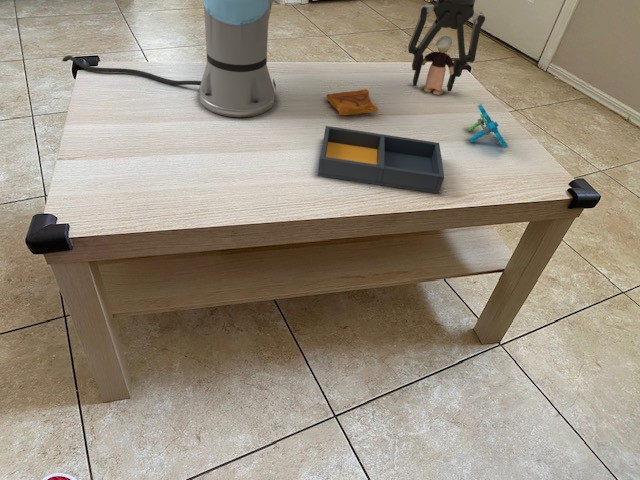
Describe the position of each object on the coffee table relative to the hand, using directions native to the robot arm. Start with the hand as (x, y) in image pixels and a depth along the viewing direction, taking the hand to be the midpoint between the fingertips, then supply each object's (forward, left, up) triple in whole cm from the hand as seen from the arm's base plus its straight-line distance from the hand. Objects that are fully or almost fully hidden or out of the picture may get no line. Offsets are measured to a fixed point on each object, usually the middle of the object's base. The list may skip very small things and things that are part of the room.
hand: (431, 86), depth 113 cm
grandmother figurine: (0, 0, -1) cm, 1 cm away
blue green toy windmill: (+10, -20, -1) cm, 22 cm away
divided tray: (-12, -35, -1) cm, 37 cm away
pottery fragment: (-18, -14, -1) cm, 23 cm away
